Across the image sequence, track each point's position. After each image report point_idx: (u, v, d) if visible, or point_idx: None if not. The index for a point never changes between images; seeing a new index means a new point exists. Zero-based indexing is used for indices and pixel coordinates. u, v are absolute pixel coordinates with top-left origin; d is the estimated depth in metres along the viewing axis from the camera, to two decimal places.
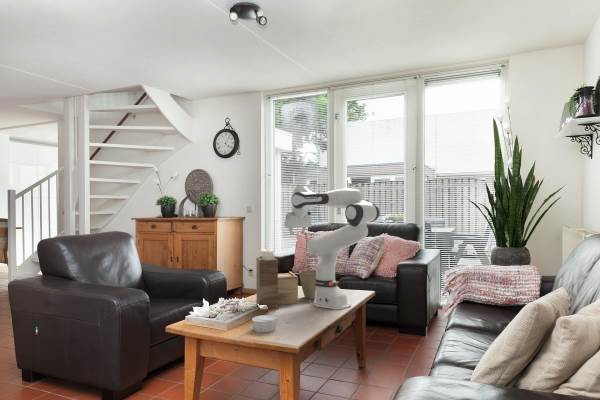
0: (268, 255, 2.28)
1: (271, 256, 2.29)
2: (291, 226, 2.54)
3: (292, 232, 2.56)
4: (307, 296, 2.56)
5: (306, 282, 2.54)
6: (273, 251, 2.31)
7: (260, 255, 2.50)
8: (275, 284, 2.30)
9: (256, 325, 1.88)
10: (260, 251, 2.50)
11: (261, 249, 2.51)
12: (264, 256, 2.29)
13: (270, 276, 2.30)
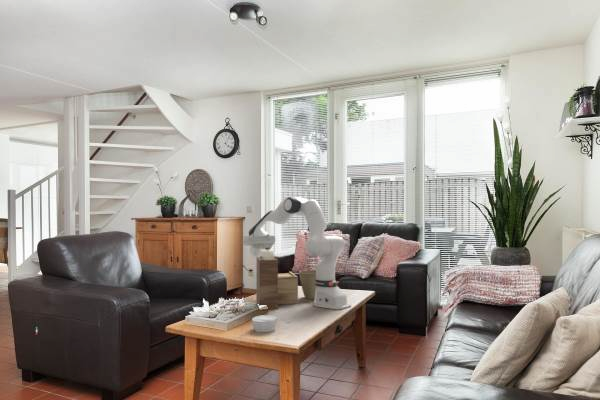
0: (268, 255, 2.28)
1: (271, 256, 2.29)
2: None
3: (252, 234, 2.62)
4: (307, 296, 2.56)
5: (306, 282, 2.54)
6: (273, 251, 2.31)
7: (260, 255, 2.50)
8: (275, 284, 2.30)
9: (256, 325, 1.88)
10: (260, 251, 2.50)
11: (261, 249, 2.51)
12: (264, 256, 2.29)
13: (270, 276, 2.30)
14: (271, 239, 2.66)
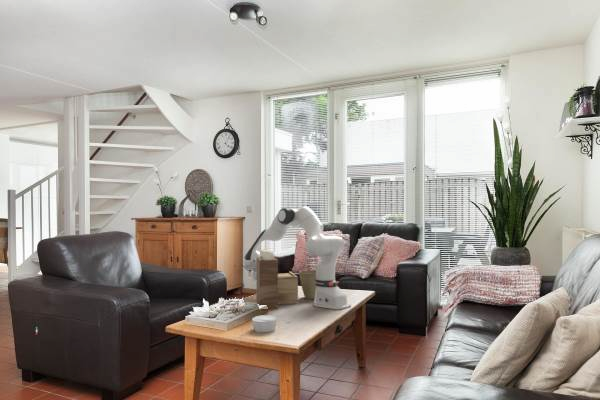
0: (268, 255, 2.28)
1: (271, 256, 2.29)
2: None
3: (252, 259, 2.58)
4: (307, 296, 2.56)
5: (306, 282, 2.54)
6: (273, 251, 2.31)
7: (260, 255, 2.50)
8: (275, 284, 2.30)
9: (256, 325, 1.88)
10: (260, 251, 2.50)
11: (261, 249, 2.51)
12: (264, 256, 2.29)
13: (270, 276, 2.30)
14: None
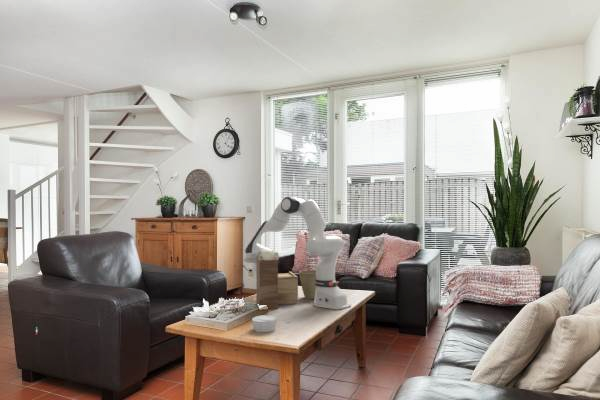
0: (268, 255, 2.28)
1: (271, 256, 2.29)
2: None
3: None
4: (307, 296, 2.56)
5: (306, 282, 2.54)
6: (273, 251, 2.31)
7: (260, 255, 2.50)
8: (275, 284, 2.30)
9: (256, 325, 1.88)
10: None
11: (261, 249, 2.51)
12: (264, 256, 2.29)
13: (270, 276, 2.30)
14: (274, 256, 2.54)
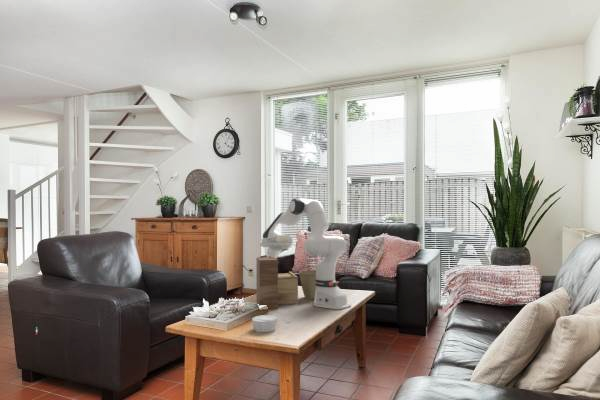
0: (284, 238, 2.48)
1: (287, 239, 2.48)
2: None
3: (274, 236, 2.70)
4: (307, 296, 2.56)
5: (306, 282, 2.54)
6: (289, 235, 2.50)
7: None
8: (275, 284, 2.30)
9: (256, 325, 1.88)
10: None
11: None
12: (281, 239, 2.48)
13: (270, 276, 2.30)
14: None
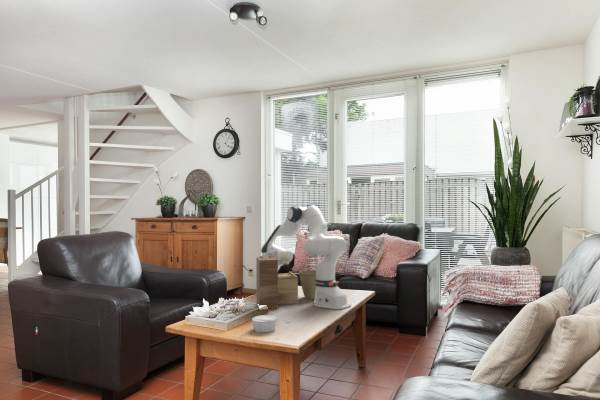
0: (285, 255, 2.48)
1: (287, 256, 2.48)
2: None
3: (274, 251, 2.70)
4: (307, 296, 2.56)
5: (306, 282, 2.54)
6: (289, 251, 2.50)
7: None
8: (275, 284, 2.30)
9: (256, 325, 1.88)
10: None
11: (277, 249, 2.71)
12: (281, 256, 2.48)
13: (270, 276, 2.30)
14: None
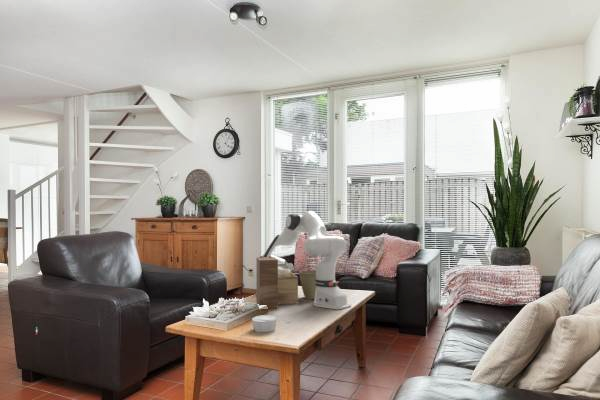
0: (285, 273, 2.48)
1: (287, 274, 2.48)
2: None
3: None
4: (307, 296, 2.56)
5: (306, 282, 2.54)
6: (289, 269, 2.50)
7: None
8: (275, 284, 2.30)
9: (256, 325, 1.88)
10: None
11: None
12: (281, 274, 2.48)
13: (270, 276, 2.30)
14: (289, 267, 2.74)
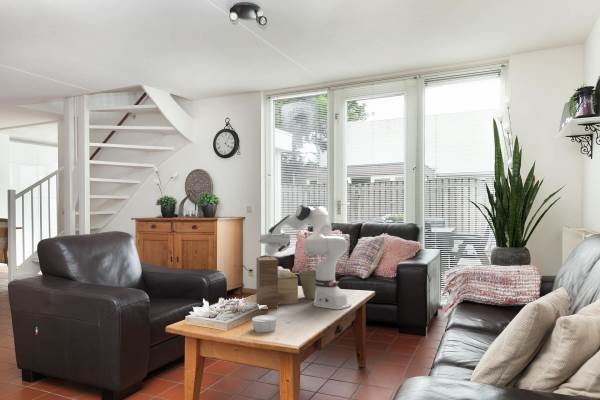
0: (285, 273, 2.48)
1: (287, 274, 2.48)
2: None
3: (268, 233, 2.78)
4: (307, 296, 2.56)
5: (306, 282, 2.54)
6: (289, 269, 2.50)
7: None
8: (275, 284, 2.30)
9: (256, 325, 1.88)
10: None
11: None
12: (281, 274, 2.48)
13: (270, 276, 2.30)
14: (286, 237, 2.82)
